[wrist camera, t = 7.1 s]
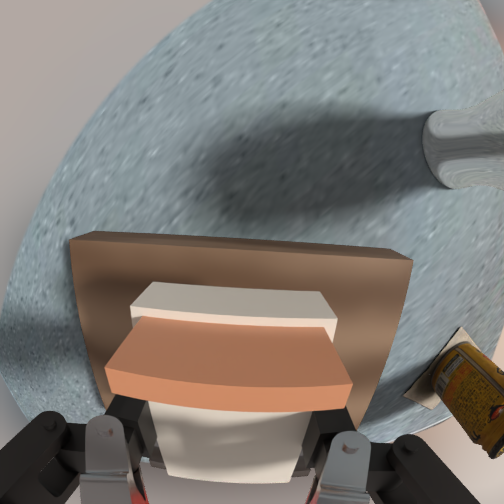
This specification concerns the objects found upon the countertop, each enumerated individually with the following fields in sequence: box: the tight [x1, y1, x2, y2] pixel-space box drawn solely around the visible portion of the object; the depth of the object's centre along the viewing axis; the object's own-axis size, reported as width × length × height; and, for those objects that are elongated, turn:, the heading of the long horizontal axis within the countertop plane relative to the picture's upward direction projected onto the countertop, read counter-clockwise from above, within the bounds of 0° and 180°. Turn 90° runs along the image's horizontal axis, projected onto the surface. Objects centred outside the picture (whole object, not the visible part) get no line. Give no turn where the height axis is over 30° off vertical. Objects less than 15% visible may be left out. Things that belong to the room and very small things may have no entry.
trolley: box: [105, 282, 353, 483], centre depth 8 cm, size 9×6×6 cm, turn 176°
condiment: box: [403, 327, 504, 459], centre depth 14 cm, size 7×8×12 cm
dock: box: [69, 231, 414, 477], centre depth 15 cm, size 16×20×6 cm
